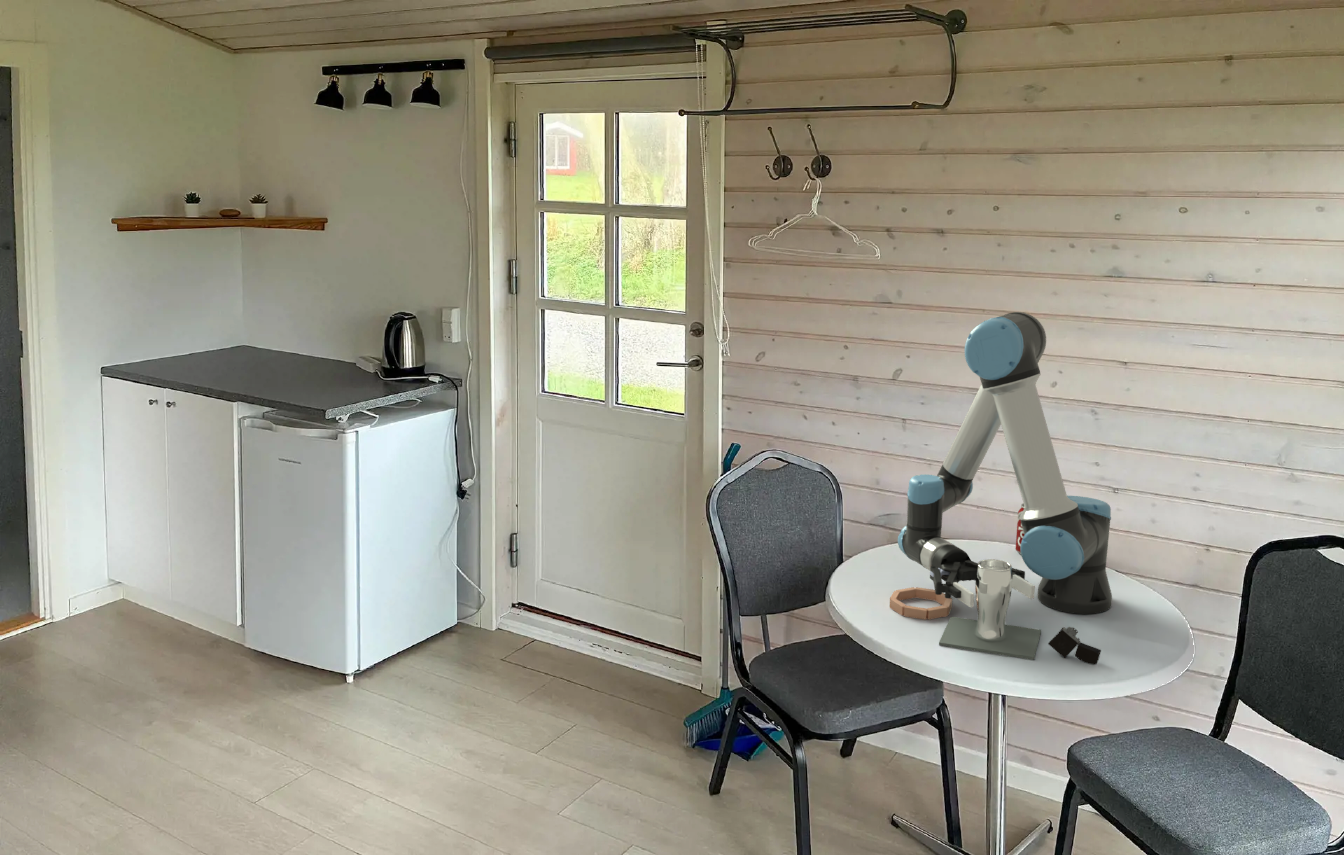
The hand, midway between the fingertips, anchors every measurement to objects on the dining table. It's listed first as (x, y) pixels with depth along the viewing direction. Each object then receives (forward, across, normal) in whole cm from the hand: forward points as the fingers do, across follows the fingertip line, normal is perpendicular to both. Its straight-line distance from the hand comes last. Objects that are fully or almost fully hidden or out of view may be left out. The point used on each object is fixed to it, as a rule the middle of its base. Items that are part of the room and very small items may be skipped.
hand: (1002, 596), depth 224 cm
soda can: (-44, -37, -10) cm, 58 cm away
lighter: (+9, -10, -11) cm, 17 cm away
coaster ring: (-22, +5, -10) cm, 25 cm away
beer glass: (-3, 0, -10) cm, 10 cm away
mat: (-3, 0, -10) cm, 11 cm away
